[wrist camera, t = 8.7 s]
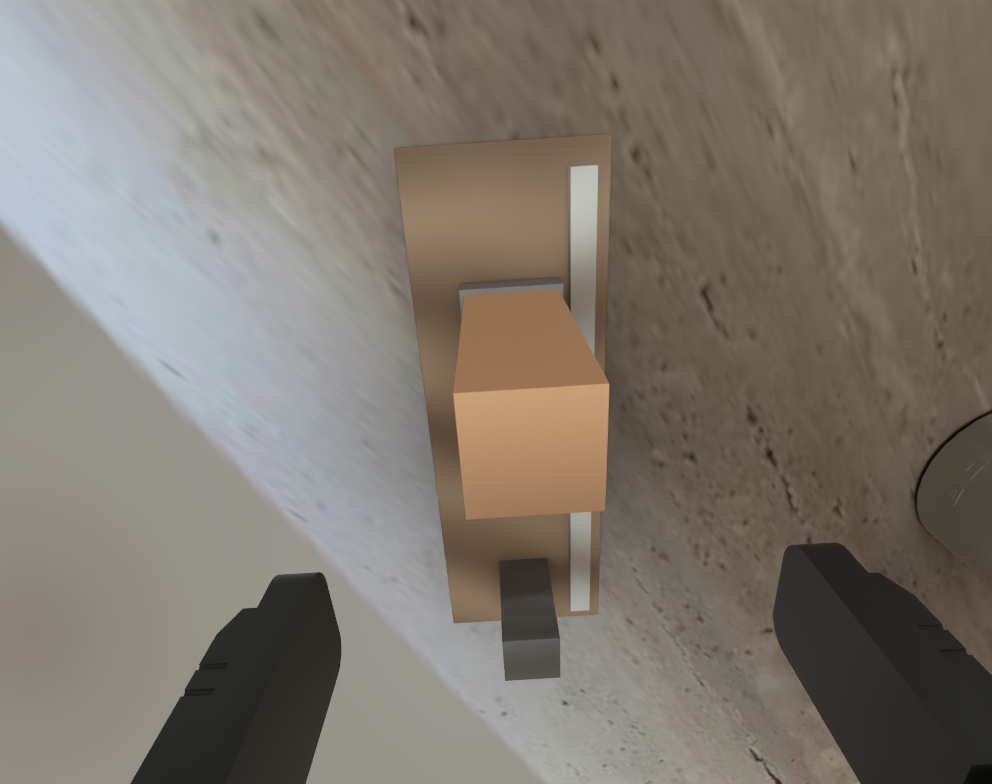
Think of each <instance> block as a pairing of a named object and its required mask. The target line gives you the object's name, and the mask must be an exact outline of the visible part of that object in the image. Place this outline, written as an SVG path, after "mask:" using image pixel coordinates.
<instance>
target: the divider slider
mask: <svg viewBox="0 0 992 784" xmlns="http://www.w3.org/2000/svg"><path fill="white" fill-rule="evenodd" d="M459 297H460V308H461V319H462V322H461V330H460V339H459V347H458V356H457V365H456V373H455V382H454V391H453V397H454V407H455V416H456V426H457V436H458V446H459V456H460V466H461V475H462V485H463V495H464V505H465V515H466V520H470V519H485V518H501V517H517V516H533V515H549V514H565V513H581V512H596V511H605V502H606V472H607V441H608V411H609V382H608V380H607V378H606V376H605V374H604V373H603V371H602V369H601V367H600V365H599V363H598V362H597V360H596V358H595V356H594V354H593V352H592V350H591V349H590V347H589V345H588V343H587V341H586V339H585V338H584V336H583V334H582V332H581V330H580V328H579V326H578V325H577V323H576V321H575V319H574V317H573V315H572V314H571V312H570V310H569V308H568V306H567V304H566V302H565V301H564V297H563V282H562V280H561V279H560V278H549V279H533V280H517V281H502V282H486V283H471V284H460V287H459Z"/></svg>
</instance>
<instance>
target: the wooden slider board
mask: <svg viewBox="0 0 992 784" xmlns="http://www.w3.org/2000/svg"><path fill="white" fill-rule="evenodd" d="M611 146H612V134H602V135H587V136H571V137H556V138H540V139H525V140H509V141H494V142H478V143H463V144H447V145H432V146H417V147H401V148H394V154H395V162H396V170H397V177H398V185H399V193H400V201H401V209H402V217H403V225H404V233H405V241H406V249H407V257H408V265H409V272H410V280H411V288H412V296H413V304H414V312H415V320H416V328H417V336H418V344H419V352H420V360H421V367H422V375H423V383H424V391H425V399H426V407H427V415H428V423H429V431H430V439H431V447H432V455H433V462H434V470H435V478H436V486H437V494H438V502H439V510H440V518H441V526H442V534H443V542H444V550H445V557H446V565H447V573H448V581H449V589H450V597H451V605H452V613H453V621H454V623H466V622H482V621H498V620H502V643H503V656H504V669H505V681H509V680H525V679H541V678H557V677H560V637H559V631H558V624H557V618H556V617H562V616H578V615H594V614H598V592H599V558H600V524H601V511H596V512H581V513H565V514H549V515H533V516H517V517H501V518H485V519H470V520H466V515H465V505H464V495H463V485H462V475H461V466H460V456H459V446H458V436H457V426H456V416H455V407H454V397H453V391H454V382H455V373H456V365H457V356H458V347H459V339H460V330H461V322H462V319H461V308H460V297H459V287H460V284H471V283H486V282H502V281H517V280H533V279H549V278H560V279H561V280H562V282H563V297H564V301H565V302H566V304H567V306H568V308H569V310H570V312H571V314H572V315H573V317H574V319H575V321H576V323H577V325H578V326H579V328H580V330H581V332H582V334H583V336H584V338H585V339H586V341H587V343H588V345H589V347H590V349H591V350H592V352H593V354H594V356H595V358H596V360H597V362H598V363H599V365H600V367H601V369H602V371H603V373H604V374H605V352H606V318H607V283H608V249H609V215H610V180H611Z"/></svg>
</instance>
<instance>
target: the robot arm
mask: <svg viewBox="0 0 992 784" xmlns="http://www.w3.org/2000/svg"><path fill="white" fill-rule="evenodd" d="M917 511H918V515H919V519H920V521H921V523H922V524H923V526H924V528H925V529H926V531H927V532H929V533H930V534H931V535H932V536H933V537H934V538H935V539H937V540H938V541H939V542H940V543H941V544H942V545H944V546H945V547H946V548H947V549H948V550H949V551H950V552H952V553H953V554H954V555H955V556H956V557H957V558H958V559H960V560H961V561H962V562H963V563H964V564H965V565H966V566H968V567H969V568H970V569H971V570H972V571H973V572H975V573H976V574H977V575H978V576H979V577H980V578H981V579H983V580H984V581H985V582H986V583H987V584H988V585H989V586H990V587H991V588H992V413H991V414H989V415H987V416H985V417H983V418H981V419H979V420H977V421H976V422H974V423H973V424H971V425H970V426H968V427H967V428H965V429H964V430H962V431H961V432H959V433H958V434H957V435H956V436H955V437H954V438H953V439H952V440H950V441H949V442H948V443H947V444H946V445H945V446H944V447H943V448H942V449H941V451H940V452H939V453H938V454H937V455H936V457H935V458H934V459H933V460H932V461H931V463H930V465H929V467H928V468H927V470H926V472H925V474H924V475H923V477H922V480H921V484H920V487H919V490H918V494H917ZM773 620H774V628H775V632H776V636H777V639H778V642H779V644H780V647H781V649H782V651H783V652H784V654H785V656H786V658H787V659H788V661H789V663H790V664H791V666H792V668H793V669H794V671H795V673H796V675H797V676H798V678H799V680H800V681H801V683H802V685H803V686H804V688H805V690H806V692H807V693H808V695H809V697H810V698H811V700H812V702H813V703H814V705H815V707H816V709H817V710H818V712H819V714H820V715H821V717H822V719H823V720H824V722H825V724H826V726H827V727H828V729H829V731H830V732H831V734H832V736H833V737H834V739H835V741H836V742H837V744H838V746H839V748H840V749H841V751H842V753H843V754H844V756H845V758H846V759H847V761H848V763H849V765H850V766H851V768H852V770H853V771H854V773H855V775H856V776H857V778H858V780H859V782H860V783H861V784H992V675H991V674H990V673H989V672H988V671H987V670H986V669H985V668H984V667H983V666H982V665H981V664H980V663H979V662H978V661H977V660H976V659H975V658H974V657H973V656H972V655H968V654H967V653H966V650H965V649H966V648H965V647H964V646H963V645H962V644H961V643H960V642H959V641H958V640H957V639H956V638H955V637H954V636H953V635H952V634H951V633H950V632H949V631H948V630H944V629H943V628H942V624H941V623H940V621H939V620H938V619H937V618H936V617H935V616H934V615H933V614H932V613H931V612H930V611H929V610H928V609H927V608H926V607H925V606H924V605H923V604H922V603H921V602H920V601H919V600H918V599H917V598H916V597H915V596H914V595H913V594H911V593H910V592H908V591H907V590H905V589H903V588H902V587H900V586H899V585H897V584H896V583H894V582H893V581H891V580H890V579H888V578H886V577H885V576H883V575H882V574H880V573H868V572H867V571H866V570H865V569H864V567H863V566H862V565H861V564H860V563H859V562H858V561H857V560H856V559H855V558H854V556H853V555H852V554H851V553H850V552H849V551H848V550H847V549H846V548H845V547H844V546H842V545H841V544H839V543H820V544H803V545H791V546H789V547H787V549H786V550H785V553H784V557H783V562H782V567H781V573H780V578H779V584H778V589H777V594H776V600H775V605H774V611H773ZM340 661H341V637H340V632H339V629H338V625H337V621H336V617H335V613H334V609H333V606H332V601H331V598H330V594H329V590H328V586H327V582H326V579H325V577H324V575H323V574H322V573H320V572H319V573H303V574H285V575H277V576H276V577H274V579H272V581H271V583H270V585H269V586H268V588H267V590H266V592H265V594H264V596H263V598H262V600H261V602H260V604H259V606H258V607H257V608H247V609H242V610H241V611H240V612H239V613H238V614H237V615H236V616H235V617H234V618H233V619H232V620H231V621H230V622H229V623H228V624H227V625H226V626H225V627H224V628H223V629H222V630H221V631H220V632H219V633H218V634H217V635H216V637H215V638H214V640H213V642H212V643H211V645H210V647H209V649H208V651H207V652H206V654H205V656H204V657H203V659H202V661H201V663H200V664H199V665H200V668H199V670H196V671H195V673H194V675H193V676H192V678H191V680H190V682H189V683H188V685H187V687H186V688H185V694H184V696H183V697H180V699H179V701H178V702H177V704H176V706H175V708H174V709H173V711H172V713H171V715H170V716H169V718H168V720H167V721H166V723H165V725H164V727H163V728H162V730H161V732H160V733H159V735H158V737H157V739H156V740H155V742H154V744H153V746H152V748H151V749H150V751H149V753H148V754H147V756H146V758H145V759H144V761H143V763H142V765H141V766H140V768H139V770H138V772H137V773H136V775H135V777H134V779H133V780H132V782H131V784H306V780H307V777H308V774H309V770H310V767H311V764H312V760H313V757H314V753H315V750H316V747H317V743H318V740H319V737H320V733H321V730H322V727H323V723H324V720H325V717H326V713H327V710H328V706H329V703H330V700H331V696H332V693H333V690H334V686H335V683H336V680H337V676H338V672H339V668H340Z"/></svg>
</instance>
